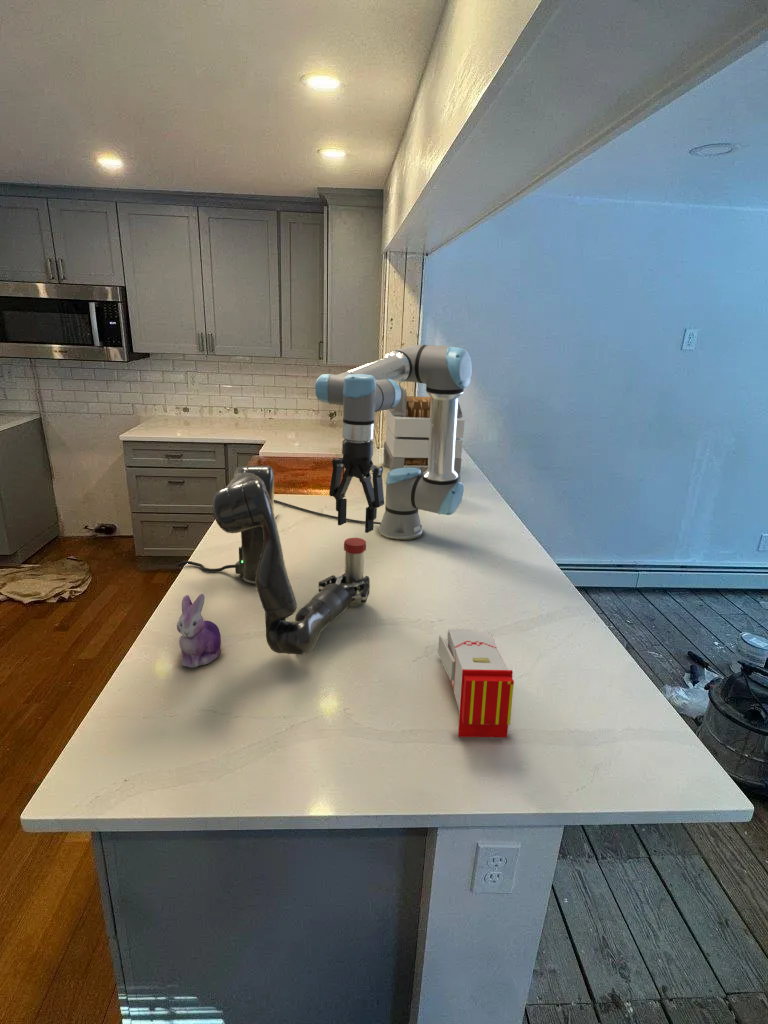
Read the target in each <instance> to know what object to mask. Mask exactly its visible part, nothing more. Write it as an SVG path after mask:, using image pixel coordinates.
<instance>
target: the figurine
mask: <svg viewBox="0 0 768 1024" xmlns="http://www.w3.org/2000/svg"><path fill="white" fill-rule="evenodd" d="M205 601H206V596H205V594H204V593H200V594H199V595H197V597H196V598H195V600H194V601H193V602H192V598H191V597H190V595H189V594H186V595H184V596H183V597H182V600H181V614H180V616H179V619H178V621H177V623H176V630H177V632H178V633H179V634H181V635H180V637H179V641H178V642H179V644H178V645H179V648H180V650H181V655H182V658H181V665H182V666H184V667H188V668H198V667H199V666H205V665H208V664H210V663H211V662H213V661H215V660H216V659H218V658H219V657H220V655H221V648H222V634H221V632H220V629H219V627H218V625H217V624H216V623H215V622H214V621H211V620H204V617H203V615H202V611H203V608H204V604H205Z"/></svg>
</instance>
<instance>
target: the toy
mask: <svg viewBox="0 0 768 1024" xmlns="http://www.w3.org/2000/svg"><path fill="white" fill-rule="evenodd" d="M446 640H447V643H446V641H445V639H444V636H443V635H442V634H439V637H438V646H437V656H438V657H439V659H440V661H441V663H442V666H443V668H444V670H445V672H446V674H447V677H448V679H449V681H450V684H451V687H452V690H453V693H454V697H455V701H456V705H457V708H458V711H459V714H458V715H459V716H458V730H457V731H458V732H457V737H458V738H508V731H509V726H510V725H511V717H512V707H513V697H514V696H513V695H514V684H515V680H514V679H513V673H514V671H513V670H512V669H508V667H507V665H506V662H505V661H504V659H503V658H502V655H501V653H500V651H499V649H498V647H497V643H496V639H495V637H494V635H493V634H491V632H490V631H489V629H467V628H466V629H465V628H463V629H461V628H460V629H459V628H448V630H447V639H446Z"/></svg>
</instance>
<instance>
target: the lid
mask: <svg viewBox="0 0 768 1024" xmlns="http://www.w3.org/2000/svg"><path fill="white" fill-rule="evenodd" d="M343 550H344V552H345V553H346V552H348V553H353V554H358V553H363V552H364V553H365V552H366V550H367V541H366V540H365V539H363V538H362V537H349V538H346V539H345V540H344V541H343Z"/></svg>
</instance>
